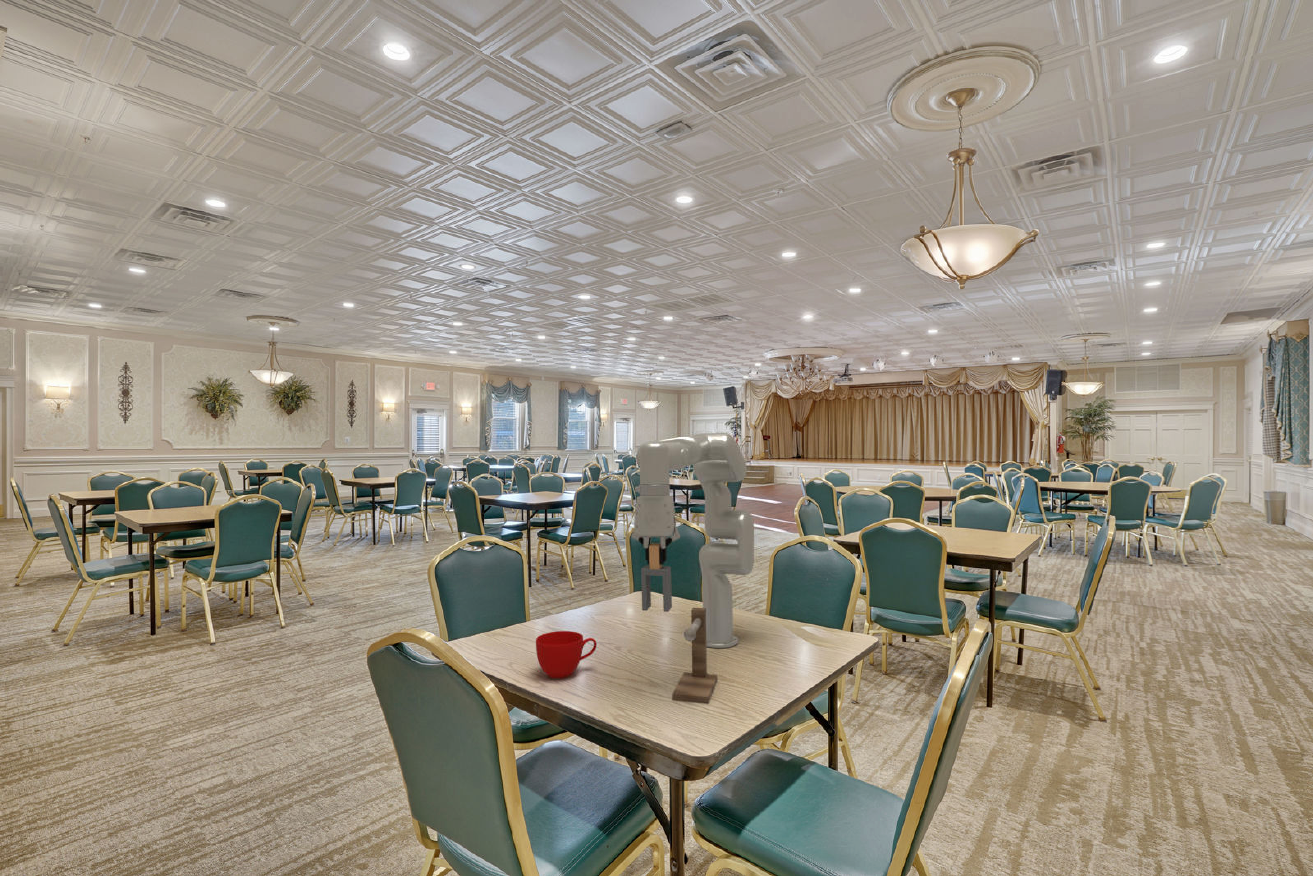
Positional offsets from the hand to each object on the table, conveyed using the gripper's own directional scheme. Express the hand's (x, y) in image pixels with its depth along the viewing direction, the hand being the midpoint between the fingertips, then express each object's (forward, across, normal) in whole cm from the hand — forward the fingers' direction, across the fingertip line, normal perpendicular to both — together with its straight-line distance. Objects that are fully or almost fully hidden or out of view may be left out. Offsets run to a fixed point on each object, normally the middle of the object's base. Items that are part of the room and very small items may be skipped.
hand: (656, 562), depth 150 cm
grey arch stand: (+12, 0, 0) cm, 12 cm away
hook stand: (+33, +9, +4) cm, 34 cm away
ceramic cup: (+33, -28, +7) cm, 44 cm away
